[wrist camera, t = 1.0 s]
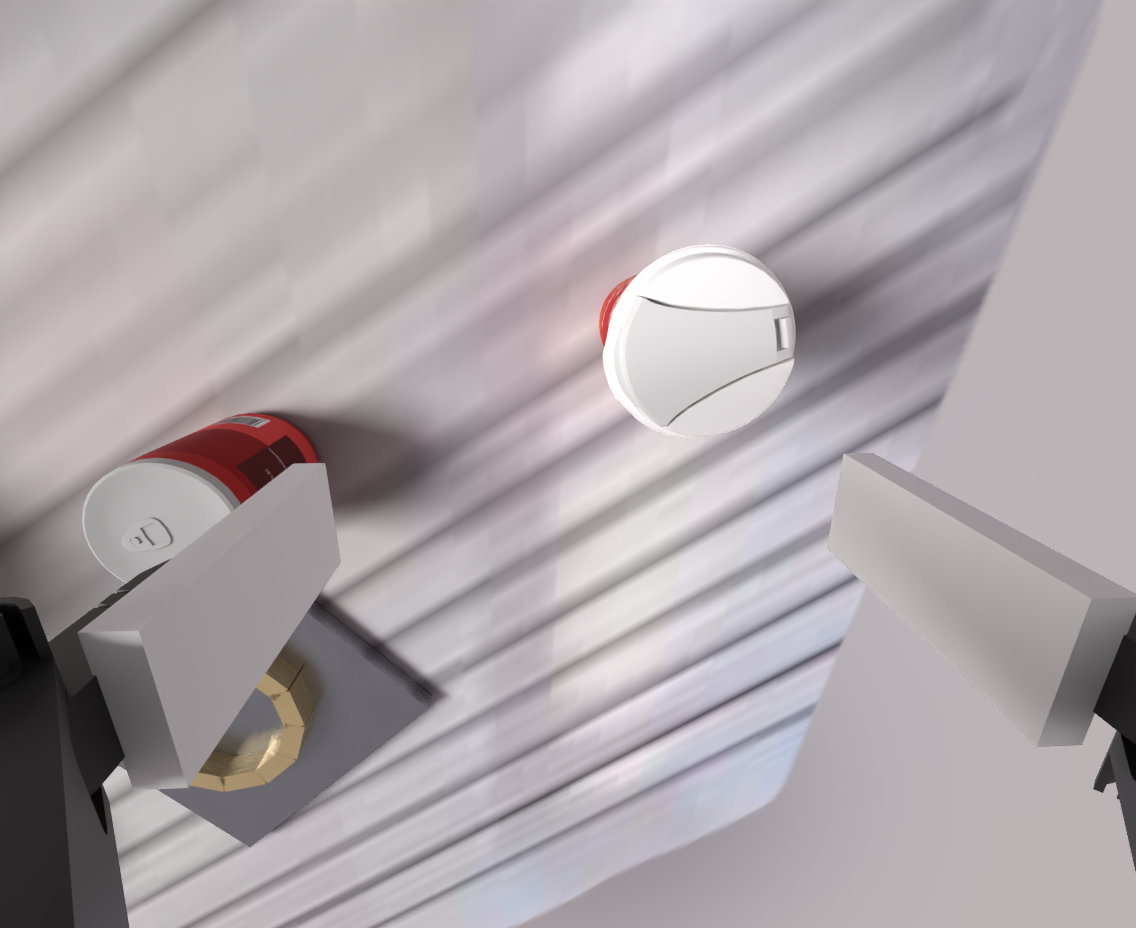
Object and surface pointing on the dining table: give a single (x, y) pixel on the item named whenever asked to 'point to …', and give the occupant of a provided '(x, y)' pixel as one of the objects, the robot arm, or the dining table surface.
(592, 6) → the dining table surface
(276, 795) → the collar plate
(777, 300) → the coffee cup
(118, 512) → the canned food
